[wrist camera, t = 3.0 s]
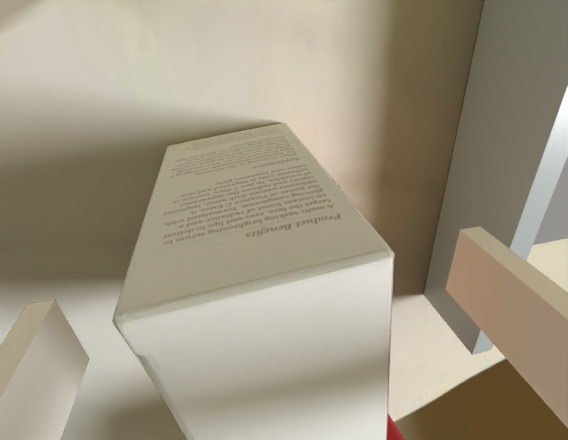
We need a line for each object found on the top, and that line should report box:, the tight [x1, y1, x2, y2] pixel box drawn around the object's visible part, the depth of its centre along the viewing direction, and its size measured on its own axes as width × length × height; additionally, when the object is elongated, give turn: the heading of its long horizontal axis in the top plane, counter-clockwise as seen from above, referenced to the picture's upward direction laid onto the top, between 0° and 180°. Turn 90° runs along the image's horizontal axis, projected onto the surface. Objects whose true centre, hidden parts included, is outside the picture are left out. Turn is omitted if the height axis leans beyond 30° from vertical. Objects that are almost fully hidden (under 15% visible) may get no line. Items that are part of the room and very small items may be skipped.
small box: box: [112, 123, 395, 440], centre depth 13 cm, size 8×6×10 cm
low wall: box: [423, 0, 568, 355], centre depth 16 cm, size 1×20×5 cm, turn 3°
